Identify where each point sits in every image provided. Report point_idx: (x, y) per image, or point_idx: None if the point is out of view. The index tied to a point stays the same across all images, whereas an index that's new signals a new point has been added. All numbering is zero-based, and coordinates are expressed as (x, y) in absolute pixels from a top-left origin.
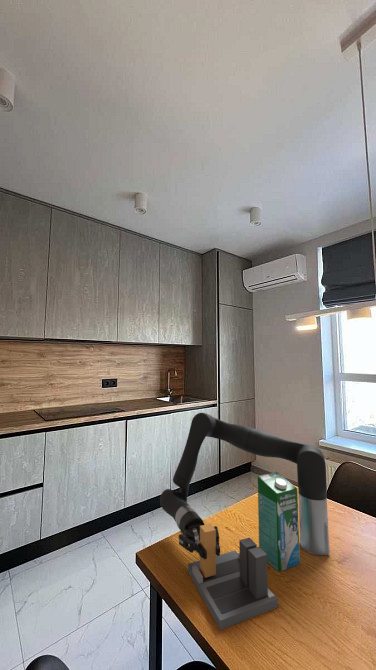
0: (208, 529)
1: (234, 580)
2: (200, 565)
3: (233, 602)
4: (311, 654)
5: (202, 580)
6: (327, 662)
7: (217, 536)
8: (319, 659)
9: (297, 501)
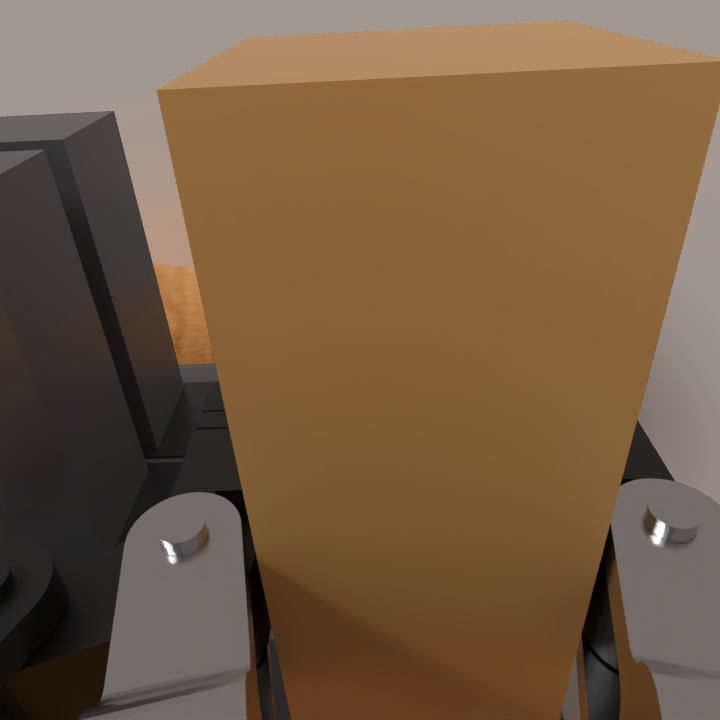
0: (432, 32)
1: None
2: None
3: None
4: (183, 283)
5: None
6: (164, 267)
7: (5, 564)
8: (177, 273)
9: None
